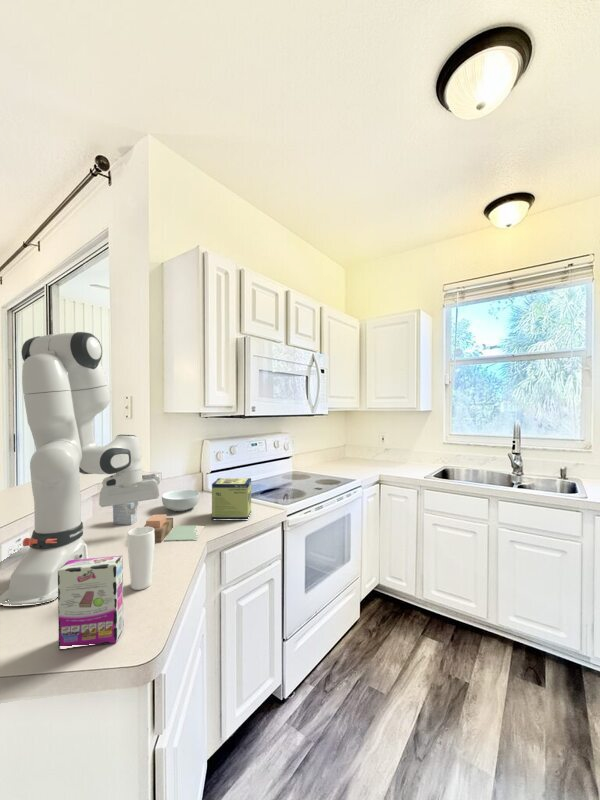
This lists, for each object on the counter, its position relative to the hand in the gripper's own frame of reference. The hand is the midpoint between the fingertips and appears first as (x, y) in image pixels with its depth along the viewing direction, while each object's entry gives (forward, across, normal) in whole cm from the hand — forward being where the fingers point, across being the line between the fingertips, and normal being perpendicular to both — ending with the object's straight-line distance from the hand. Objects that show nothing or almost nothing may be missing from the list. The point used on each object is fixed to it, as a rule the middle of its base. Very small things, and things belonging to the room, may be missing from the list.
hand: (131, 514), depth 130 cm
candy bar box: (+8, +8, +59) cm, 60 cm away
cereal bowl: (+9, -21, -24) cm, 33 cm away
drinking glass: (+8, -2, +41) cm, 42 cm away
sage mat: (+9, -18, +7) cm, 21 cm away
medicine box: (+8, +2, -15) cm, 18 cm away
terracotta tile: (+4, -8, +4) cm, 10 cm away
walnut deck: (+8, -8, +4) cm, 12 cm away
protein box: (+10, -39, -3) cm, 40 cm away
